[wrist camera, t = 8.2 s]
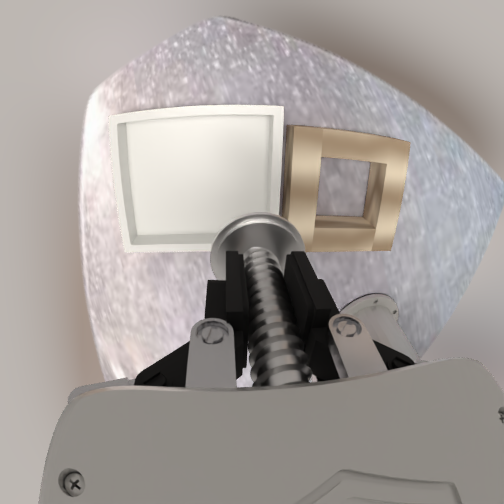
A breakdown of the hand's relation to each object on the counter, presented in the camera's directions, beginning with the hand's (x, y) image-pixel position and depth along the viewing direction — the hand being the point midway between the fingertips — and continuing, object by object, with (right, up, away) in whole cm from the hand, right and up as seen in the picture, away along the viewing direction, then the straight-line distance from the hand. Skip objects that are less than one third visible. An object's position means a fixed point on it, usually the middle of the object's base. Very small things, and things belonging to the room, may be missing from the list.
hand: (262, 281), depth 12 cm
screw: (0, +2, +4) cm, 4 cm away
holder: (+10, +9, +20) cm, 24 cm away
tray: (-7, +10, +19) cm, 22 cm away
